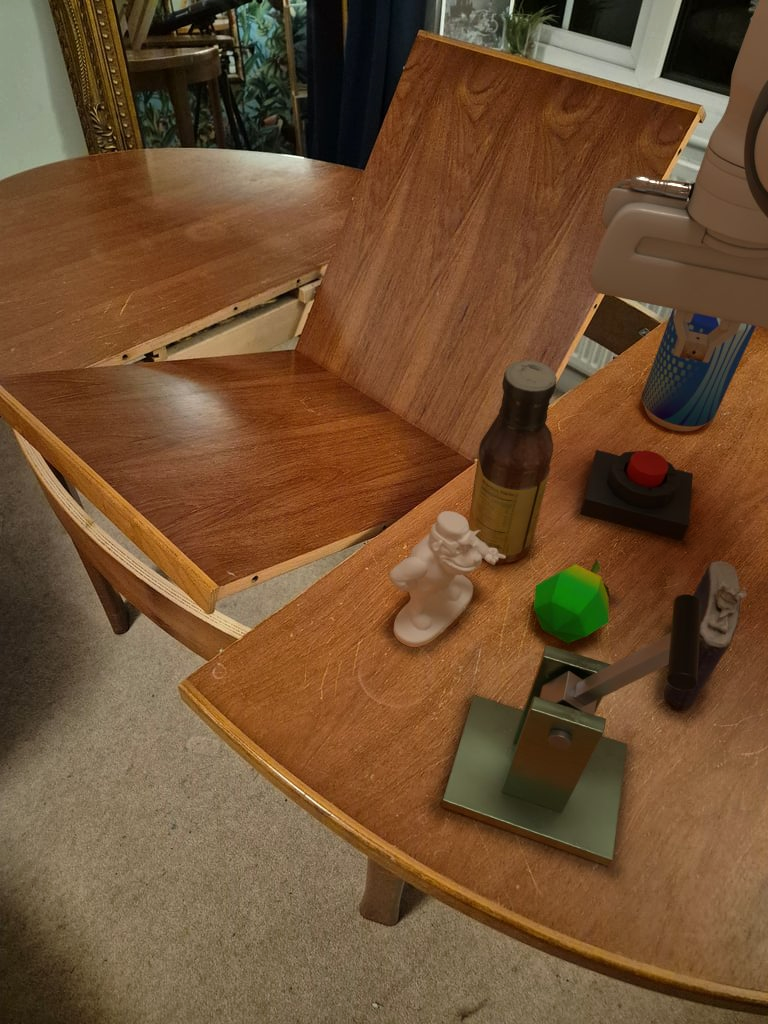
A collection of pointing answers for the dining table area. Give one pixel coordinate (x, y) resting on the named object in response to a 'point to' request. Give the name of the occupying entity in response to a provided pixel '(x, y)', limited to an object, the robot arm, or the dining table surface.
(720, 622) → the eggplant half
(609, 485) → the control block
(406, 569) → the figurine
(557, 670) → the bracket
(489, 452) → the sauce bottle
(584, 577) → the apple
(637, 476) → the button
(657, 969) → the dining table surface
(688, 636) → the lever
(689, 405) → the beer can
